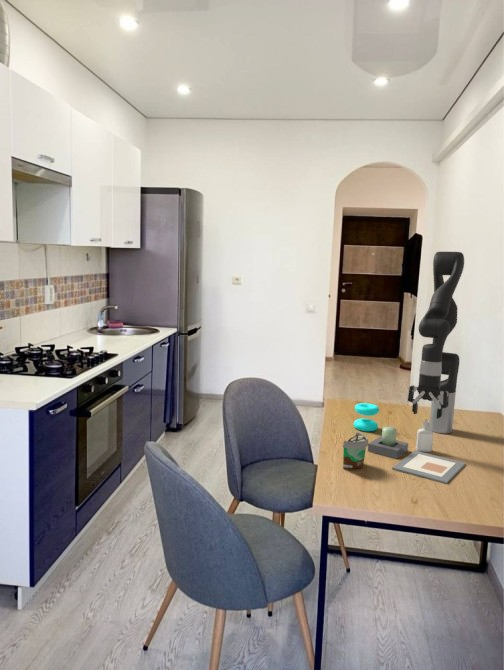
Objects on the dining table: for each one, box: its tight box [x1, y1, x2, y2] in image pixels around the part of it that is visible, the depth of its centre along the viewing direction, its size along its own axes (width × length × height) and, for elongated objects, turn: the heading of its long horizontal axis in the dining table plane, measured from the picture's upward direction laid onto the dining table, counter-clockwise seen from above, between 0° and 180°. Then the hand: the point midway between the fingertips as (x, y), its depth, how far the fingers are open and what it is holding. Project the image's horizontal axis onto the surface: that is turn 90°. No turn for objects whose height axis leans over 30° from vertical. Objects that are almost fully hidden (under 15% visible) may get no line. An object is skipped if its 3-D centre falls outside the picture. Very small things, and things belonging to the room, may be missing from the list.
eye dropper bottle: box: [415, 418, 434, 453], centre depth 196 cm, size 4×6×12 cm
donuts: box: [353, 402, 380, 432], centre depth 220 cm, size 10×10×10 cm
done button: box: [381, 426, 397, 447], centre depth 194 cm, size 5×5×6 cm
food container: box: [342, 432, 369, 471], centre depth 177 cm, size 12×6×10 cm, turn 148°
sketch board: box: [391, 450, 467, 485], centre depth 180 cm, size 22×18×1 cm
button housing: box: [367, 435, 409, 460], centre depth 194 cm, size 11×11×3 cm
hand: (426, 415), depth 195 cm, fingers open, 8 cm apart
